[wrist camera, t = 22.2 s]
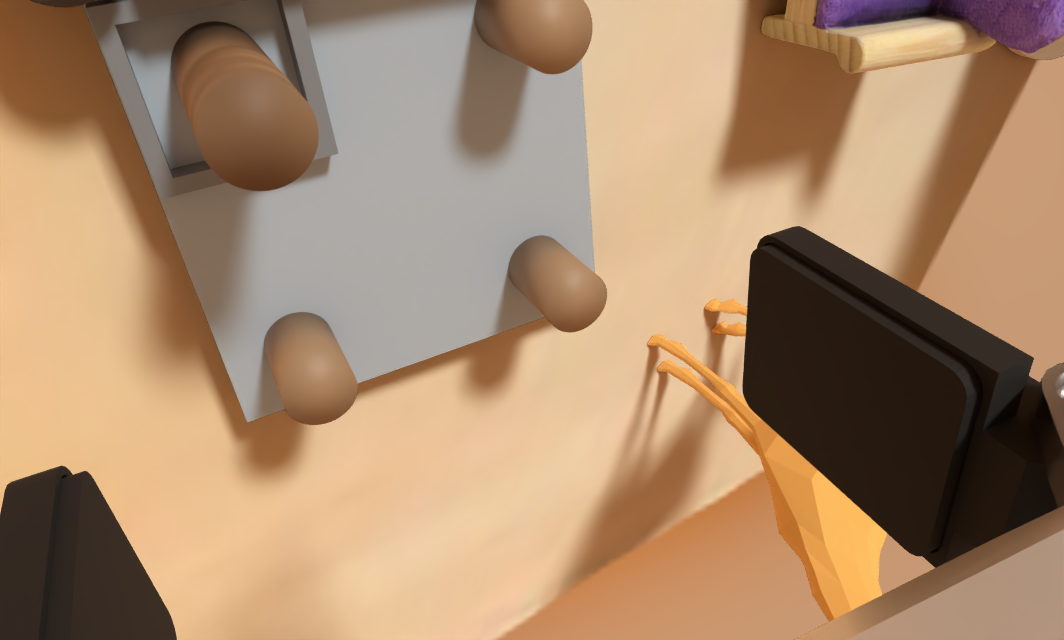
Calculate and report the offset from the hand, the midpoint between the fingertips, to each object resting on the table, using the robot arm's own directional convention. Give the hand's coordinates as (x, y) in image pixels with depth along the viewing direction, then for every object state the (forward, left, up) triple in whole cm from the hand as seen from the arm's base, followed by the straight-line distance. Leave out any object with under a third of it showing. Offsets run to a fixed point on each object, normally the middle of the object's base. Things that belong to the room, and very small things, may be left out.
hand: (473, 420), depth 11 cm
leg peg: (+1, -1, -21) cm, 21 cm away
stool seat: (-5, +5, -23) cm, 24 cm away
